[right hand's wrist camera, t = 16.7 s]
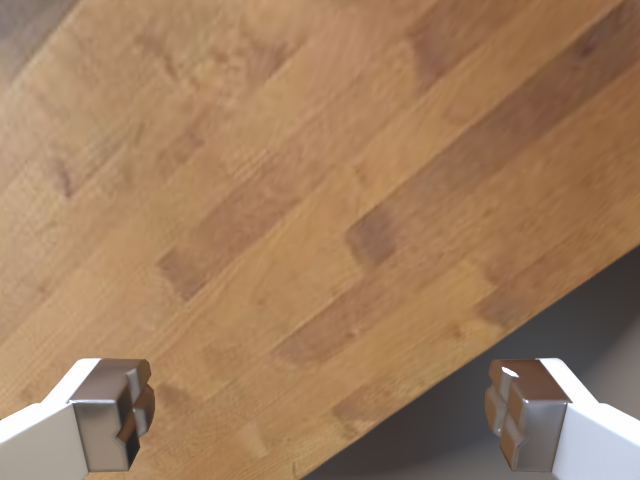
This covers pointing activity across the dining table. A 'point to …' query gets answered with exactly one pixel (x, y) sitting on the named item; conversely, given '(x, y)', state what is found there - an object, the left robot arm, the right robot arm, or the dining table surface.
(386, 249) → the dining table surface
